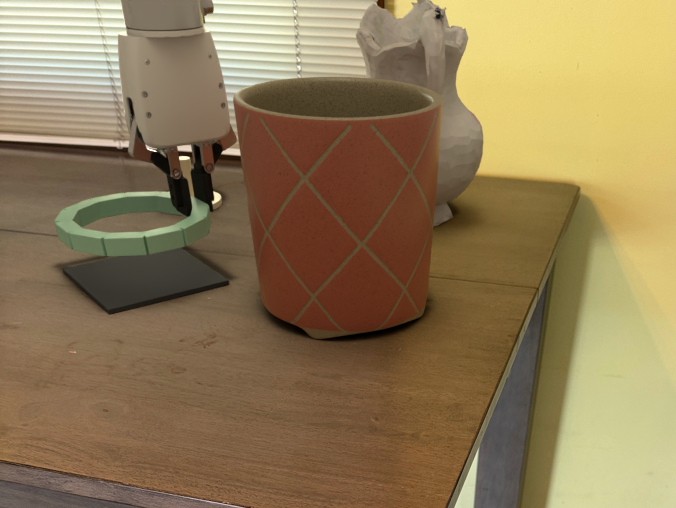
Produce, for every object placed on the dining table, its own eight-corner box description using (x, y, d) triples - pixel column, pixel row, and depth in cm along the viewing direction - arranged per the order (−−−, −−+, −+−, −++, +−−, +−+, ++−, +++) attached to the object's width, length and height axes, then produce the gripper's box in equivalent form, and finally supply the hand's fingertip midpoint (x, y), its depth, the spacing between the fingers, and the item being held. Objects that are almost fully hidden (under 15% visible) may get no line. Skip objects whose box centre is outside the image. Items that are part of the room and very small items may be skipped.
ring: (92, 267, 74) (88, 249, 73) (40, 224, 84) (35, 207, 83) (236, 235, 82) (233, 218, 81) (173, 199, 91) (170, 183, 90)
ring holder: (173, 218, 102) (165, 170, 98) (146, 201, 107) (137, 155, 104) (233, 206, 106) (227, 160, 102) (204, 190, 112) (198, 146, 108)
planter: (466, 322, 79) (483, 107, 66) (300, 361, 72) (283, 128, 59) (380, 262, 92) (380, 71, 79) (230, 290, 84) (203, 84, 71)
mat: (109, 314, 79) (108, 309, 79) (63, 272, 87) (62, 268, 87) (229, 284, 85) (229, 280, 85) (176, 248, 94) (175, 244, 93)
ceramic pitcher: (508, 241, 101) (546, 17, 86) (376, 249, 94) (392, 5, 78) (433, 196, 116) (454, -2, 101) (314, 200, 108) (317, -14, 93)
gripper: (218, 6, 80) (240, 191, 92) (69, 15, 72) (114, 215, 84) (253, 14, 75) (272, 207, 87) (98, 24, 68) (141, 234, 80)
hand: (194, 210), depth 85 cm, fingers closed on ring, 1 cm apart
